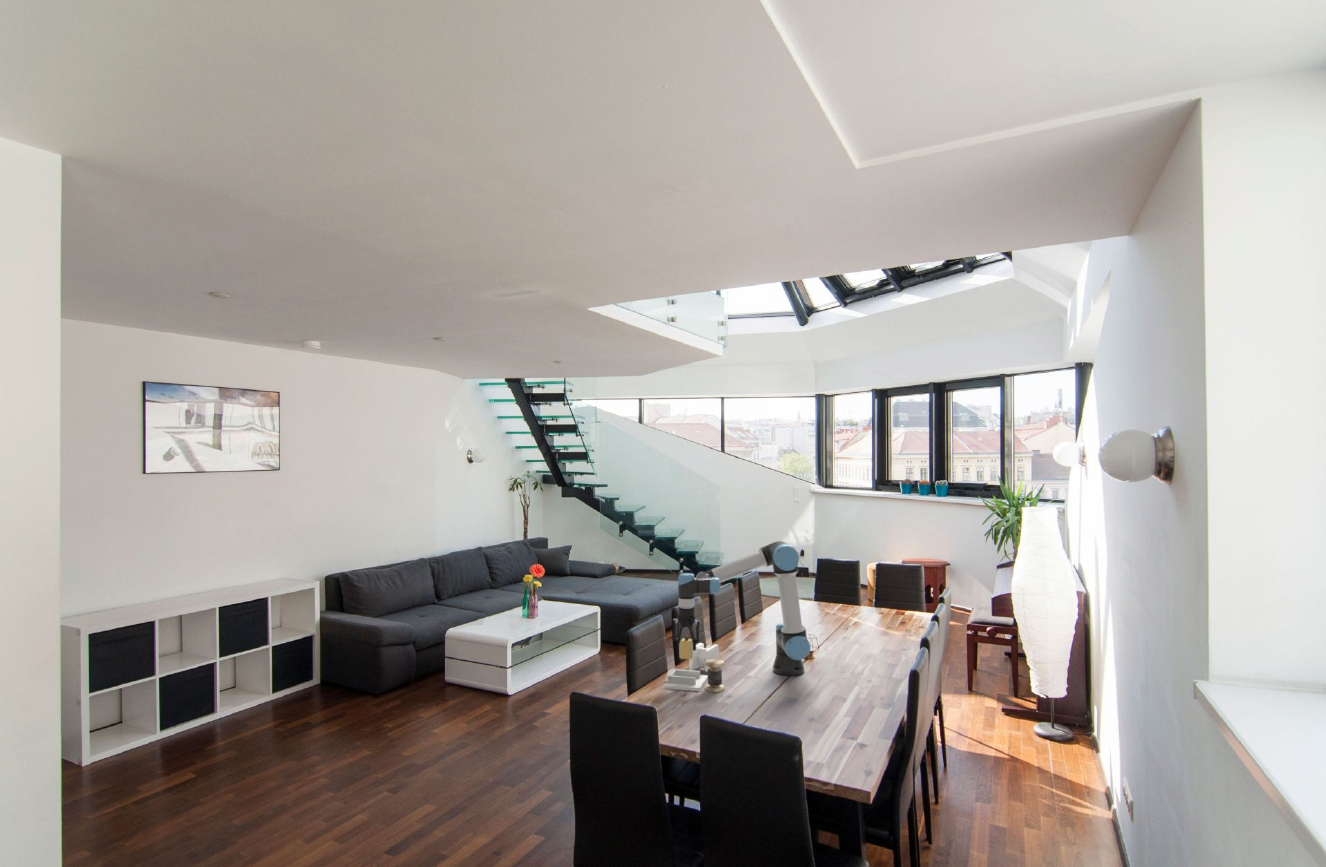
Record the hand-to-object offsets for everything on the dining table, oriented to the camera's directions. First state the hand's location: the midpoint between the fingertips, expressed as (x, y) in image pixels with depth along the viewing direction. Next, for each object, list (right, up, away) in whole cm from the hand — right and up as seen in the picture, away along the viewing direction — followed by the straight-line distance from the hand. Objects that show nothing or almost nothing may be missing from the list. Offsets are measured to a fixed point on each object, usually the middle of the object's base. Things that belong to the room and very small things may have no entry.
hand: (686, 656), depth 314 cm
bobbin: (+13, -12, -8) cm, 19 cm away
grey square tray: (0, -12, 0) cm, 12 cm away
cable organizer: (+9, -13, +20) cm, 26 cm away
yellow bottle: (0, 0, 0) cm, 0 cm away
